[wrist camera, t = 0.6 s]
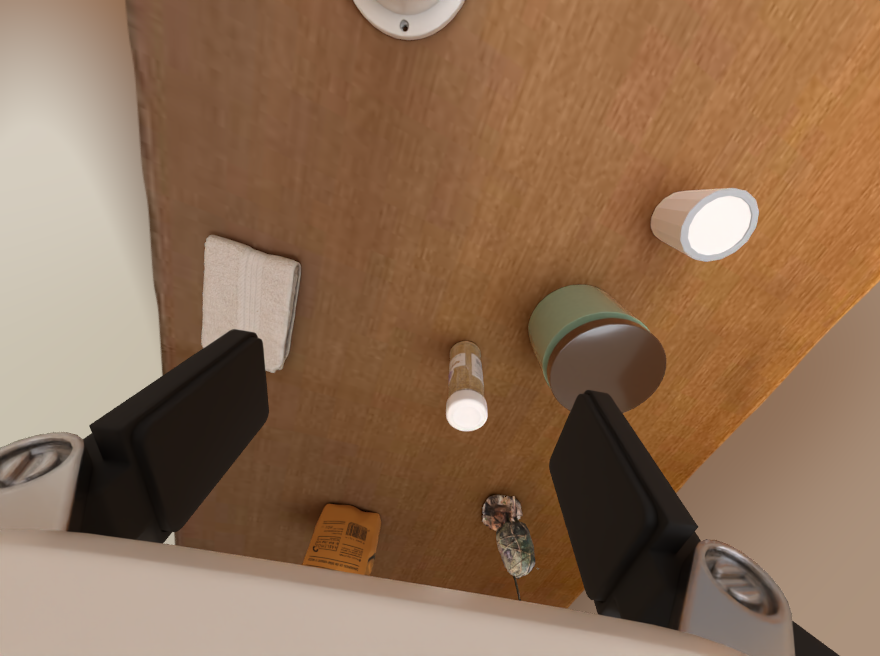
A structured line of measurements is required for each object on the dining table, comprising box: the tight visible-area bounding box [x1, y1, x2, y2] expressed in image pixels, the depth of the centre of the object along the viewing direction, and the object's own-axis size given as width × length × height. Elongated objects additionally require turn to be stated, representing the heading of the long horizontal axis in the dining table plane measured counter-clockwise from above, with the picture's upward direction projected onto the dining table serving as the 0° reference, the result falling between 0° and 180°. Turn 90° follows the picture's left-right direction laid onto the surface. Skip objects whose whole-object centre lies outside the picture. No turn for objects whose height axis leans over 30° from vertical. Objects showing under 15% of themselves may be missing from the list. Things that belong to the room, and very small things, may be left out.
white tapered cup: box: [651, 188, 759, 262], centre depth 34 cm, size 7×7×7 cm
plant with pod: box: [481, 495, 539, 601], centre depth 52 cm, size 8×11×20 cm
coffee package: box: [302, 504, 381, 576], centre depth 56 cm, size 10×12×22 cm
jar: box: [528, 285, 666, 413], centre depth 39 cm, size 12×12×12 cm
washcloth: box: [201, 235, 301, 373], centre depth 44 cm, size 12×18×3 cm, turn 162°
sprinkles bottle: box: [446, 341, 487, 431], centre depth 41 cm, size 5×5×14 cm
